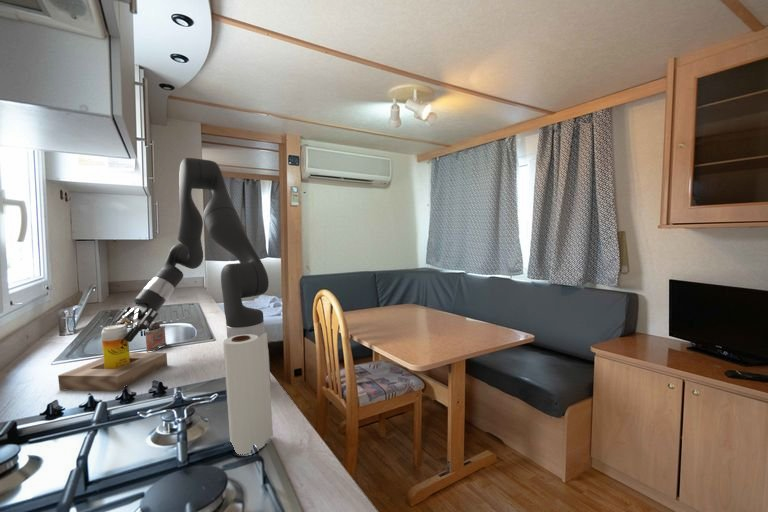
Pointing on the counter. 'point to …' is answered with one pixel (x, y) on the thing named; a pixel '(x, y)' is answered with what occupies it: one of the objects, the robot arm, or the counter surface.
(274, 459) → the counter surface
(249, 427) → the paper towel roll
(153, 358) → the socket block
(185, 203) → the robot arm
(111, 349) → the yellow cylinder
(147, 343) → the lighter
